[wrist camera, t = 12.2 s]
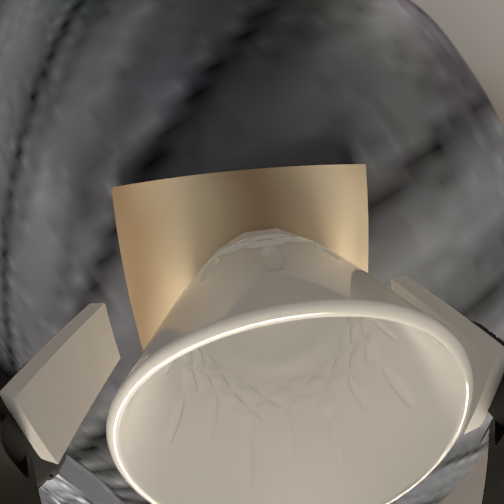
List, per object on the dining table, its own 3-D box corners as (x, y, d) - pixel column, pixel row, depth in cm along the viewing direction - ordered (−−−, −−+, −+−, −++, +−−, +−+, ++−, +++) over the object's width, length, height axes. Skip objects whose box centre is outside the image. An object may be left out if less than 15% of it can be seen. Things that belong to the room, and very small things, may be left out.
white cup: (160, 251, 14) (32, 375, 4) (320, 190, 13) (474, 219, 4) (225, 381, 16) (212, 547, 6) (361, 333, 15) (455, 475, 5)
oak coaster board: (162, 381, 17) (157, 396, 16) (123, 186, 14) (111, 187, 13) (352, 365, 17) (359, 379, 16) (354, 165, 14) (365, 164, 13)
